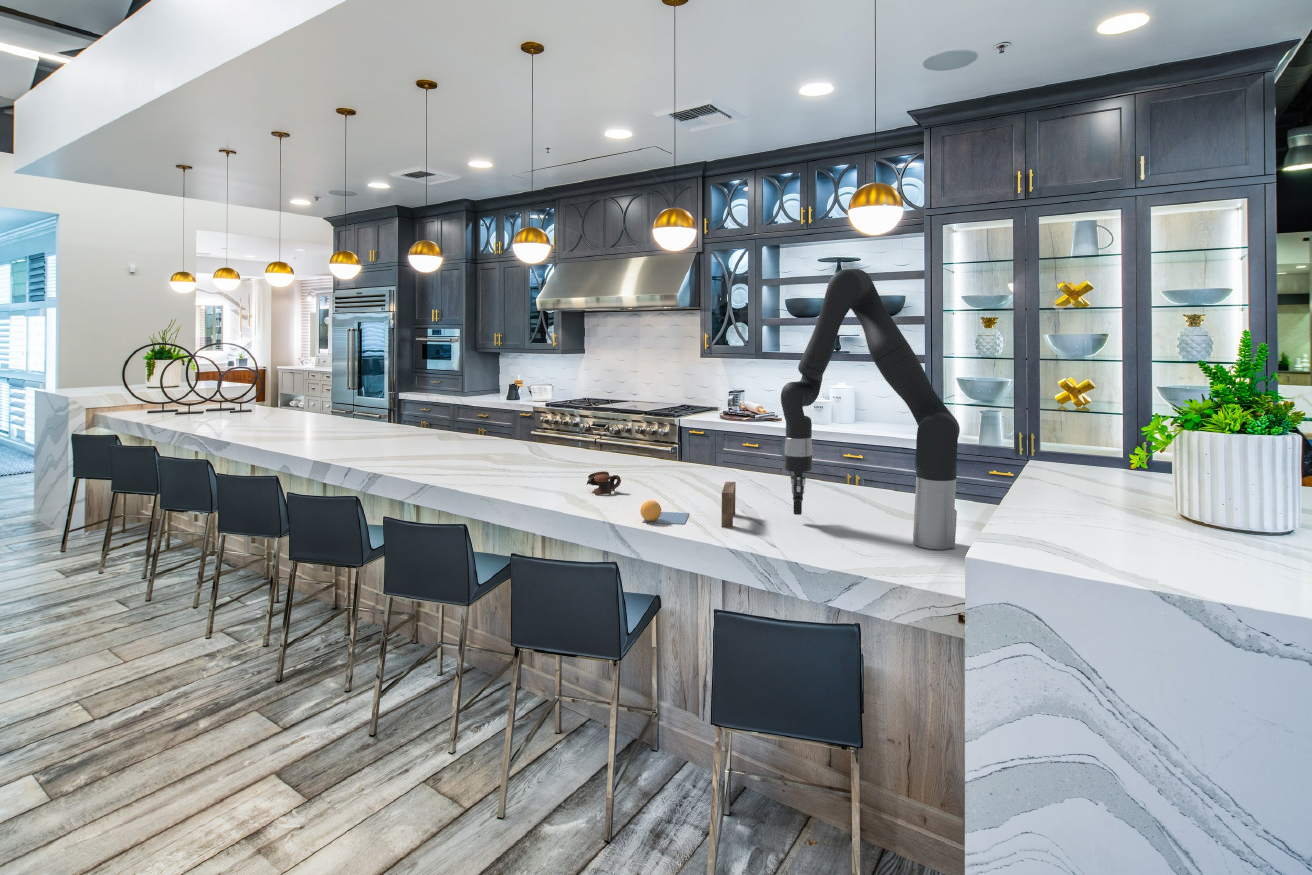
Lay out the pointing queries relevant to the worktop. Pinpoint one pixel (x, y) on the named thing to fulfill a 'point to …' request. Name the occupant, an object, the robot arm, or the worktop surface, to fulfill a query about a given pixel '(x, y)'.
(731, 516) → the bridge
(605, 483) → the pottery mug
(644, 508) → the ball
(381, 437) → the worktop surface
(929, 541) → the robot arm
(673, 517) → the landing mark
